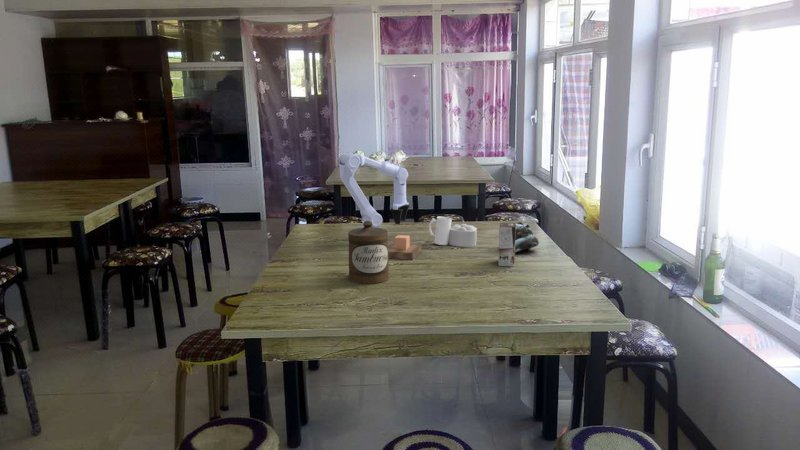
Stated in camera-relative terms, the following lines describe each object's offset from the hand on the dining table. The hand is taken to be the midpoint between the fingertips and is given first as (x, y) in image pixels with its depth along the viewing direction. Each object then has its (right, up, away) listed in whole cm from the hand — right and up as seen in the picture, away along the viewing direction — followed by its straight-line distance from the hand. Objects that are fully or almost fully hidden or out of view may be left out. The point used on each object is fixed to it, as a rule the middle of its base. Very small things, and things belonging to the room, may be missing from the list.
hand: (400, 222), depth 296 cm
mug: (+17, -10, -3) cm, 20 cm away
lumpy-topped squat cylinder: (+28, -10, -3) cm, 30 cm away
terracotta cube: (+1, -11, -22) cm, 24 cm away
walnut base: (+1, -14, -21) cm, 25 cm away
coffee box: (+43, -17, -36) cm, 58 cm away
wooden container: (-12, -22, -55) cm, 60 cm away
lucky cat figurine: (+52, -13, -16) cm, 56 cm away
